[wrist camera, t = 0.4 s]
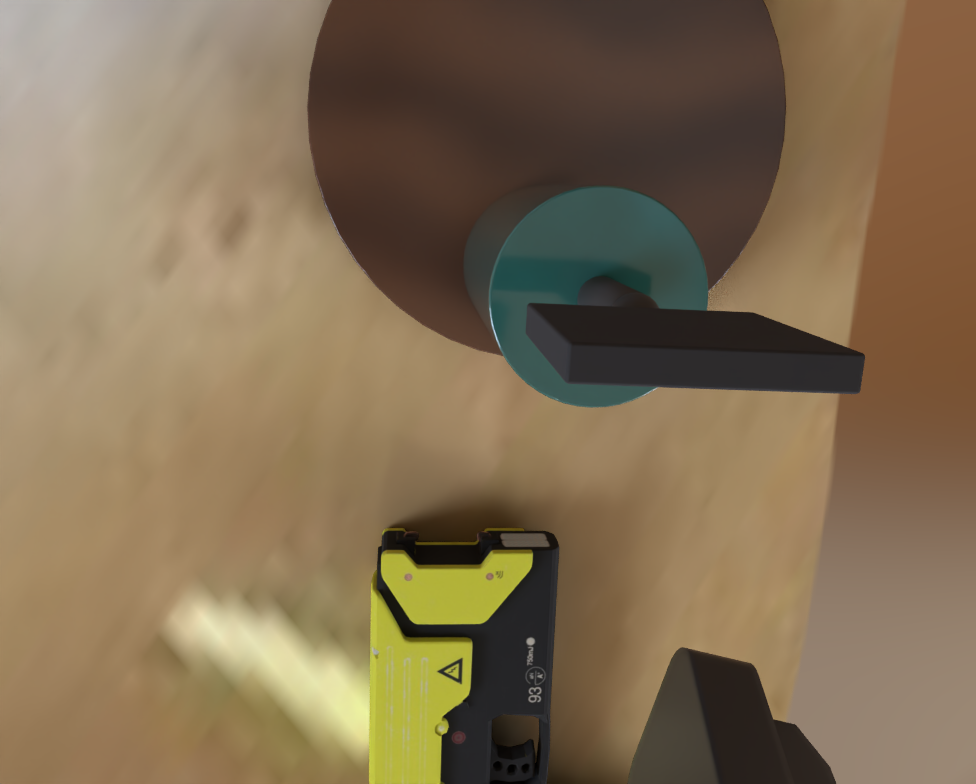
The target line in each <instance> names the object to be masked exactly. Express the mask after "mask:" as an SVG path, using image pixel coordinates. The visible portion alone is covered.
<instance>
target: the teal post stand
mask: <svg viewBox="0 0 976 784" xmlns="http://www.w3.org/2000/svg"><path fill="white" fill-rule="evenodd" d="M307 108H308V128H309V143H310V148H311V154H312V159H313V165H314V171H315V175H316V178H317V181H318V185H319V188H320V191H321V194H322V197H323V200H324V204H325V206H326V208H327V211H328V213H329V215H330V217H331V219H332V221H333V224H334V226H335V228H336V230H337V232H338V234H339V236H340V238H341V239H342V241H343V242H344V244H345V246H346V247H347V249H348V250H349V252H350V254H351V255H352V257H353V258H354V260H355V261H356V263H357V264H358V265H359V266H360V268H361V269H362V270H363V271H364V272H365V274H366V275H367V276H368V277H369V279H370V280H371V281H372V282H373V283H374V285H375V286H376V287H377V288H378V289H379V290H381V291H382V292H383V293H384V294H385V295H386V296H387V297H388V298H389V299H390V300H391V301H392V302H393V303H394V304H395V305H396V306H398V307H399V308H400V309H402V310H403V311H404V312H406V313H407V314H408V315H410V316H411V317H413V318H414V319H415V320H417V321H418V322H420V323H421V324H422V325H424V326H426V327H428V328H430V329H431V330H433V331H435V332H437V333H439V334H441V335H443V336H444V337H446V338H448V339H450V340H453V341H455V342H458V343H461V344H463V345H466V346H468V347H471V348H474V349H476V350H480V351H484V352H488V353H492V354H497V355H501V356H504V357H505V359H506V361H507V362H508V364H509V365H510V366H511V367H512V369H513V370H514V371H515V372H516V374H517V375H518V376H519V377H521V378H522V379H523V380H524V381H525V382H526V383H527V384H528V385H530V386H531V387H532V388H534V389H535V390H537V391H538V392H540V393H542V394H543V395H545V396H547V397H549V398H551V399H554V400H557V401H559V402H562V403H565V404H570V405H574V406H580V407H590V408H593V407H609V406H615V405H620V404H623V403H627V402H630V401H633V400H635V399H638V398H640V397H642V396H644V395H646V394H648V393H650V392H651V391H653V390H655V389H656V388H658V387H669V388H697V389H726V390H754V391H782V392H811V393H839V394H857V393H859V392H860V387H861V381H862V374H863V367H864V360H865V355H864V354H863V353H860V352H858V351H855V350H852V349H850V348H847V347H844V346H842V345H839V344H836V343H833V342H831V341H828V340H825V339H823V338H820V337H817V336H815V335H812V334H809V333H807V332H804V331H801V330H799V329H796V328H793V327H790V326H788V325H785V324H782V323H780V322H777V321H774V320H772V319H769V318H766V317H764V316H761V315H758V314H755V313H750V312H727V311H707V306H708V292H709V291H710V290H711V289H712V288H713V287H714V286H715V285H716V284H717V283H718V282H719V281H720V280H721V279H722V277H723V276H724V275H725V274H726V272H727V271H728V270H729V268H730V267H731V266H732V265H733V263H734V262H735V261H736V259H737V258H738V257H739V256H740V254H741V253H742V251H743V249H744V248H745V246H746V244H747V243H748V241H749V239H750V238H751V236H752V234H753V233H754V231H755V229H756V228H757V225H758V223H759V221H760V219H761V216H762V214H763V212H764V210H765V207H766V205H767V203H768V201H769V198H770V195H771V192H772V188H773V185H774V182H775V179H776V175H777V172H778V169H779V163H780V158H781V152H782V147H783V141H784V131H785V114H786V98H785V82H784V71H783V66H782V60H781V55H780V50H779V45H778V40H777V37H776V34H775V31H774V28H773V25H772V22H771V19H770V15H769V12H768V10H767V8H766V5H765V3H764V1H763V0H332V1H331V3H330V5H329V7H328V10H327V13H326V16H325V19H324V21H323V24H322V27H321V30H320V33H319V36H318V39H317V43H316V47H315V52H314V57H313V62H312V67H311V71H310V81H309V94H308V107H307Z"/></svg>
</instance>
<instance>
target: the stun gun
mask: <svg viewBox="0 0 976 784" xmlns="http://www.w3.org/2000/svg"><path fill="white" fill-rule="evenodd" d="M418 538H419V534H418V532H415V531H414V532H406V530H405V529H403V528H387V529H385V530H384V531H383V533H382V546H380V547H379V548H378V562H377V570H376V571H375V572H374V574H373V577H372V582H371V636H370V734H369V784H547V774H548V763H549V753H550V705H551V687H552V669H553V651H554V633H555V615H556V597H557V579H558V561H559V545H558V541H557V539H556V538H555V536H554V534H552V533H549V532H546V531H524V528H486V529H485V530H484V532H483V531H480V532H478V533H477V539H478V540H477V541H476V542H415V541H417V540H418ZM503 714H507V715H524V716H535V717H537V718H539V742H538V751H537V760H536V758H535V750H534V742H533V740H531V739H529V740H528V741H527V742H525V743H524V744H521V745H517V746H513V747H506V746H500V745H496V744H495V742H494V741H493V740H492V739H491V732H492V720H493V719H495V718H497V717H499V716H501V715H503ZM535 760H536V763H535Z"/></svg>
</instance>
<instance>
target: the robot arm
mask: <svg viewBox="0 0 976 784" xmlns="http://www.w3.org/2000/svg"><path fill="white" fill-rule="evenodd" d="M627 784H836V781H835V779H834V777H833V774H832V771H831V768H830V767H829V765H828V764H827V763H826V762H825V760H824V759H823V758H822V757H821V755H820V754H819V753H818V752H817V750H816V749H815V748H814V747H813V746H812V744H811V743H810V742H809V741H808V739H807V738H806V737H805V736H804V734H803V733H802V732H801V731H800V729H799V728H798V727H797V726H796V725H795V724H790V723H786V722H782V721H778V720H773V718H772V715H771V712H770V709H769V706H768V703H767V699H766V696H765V693H764V690H763V687H762V684H761V681H760V678H759V675H758V673H757V670H756V668H755V667H754V666H753V665H752V664H751V663H747V662H743V661H739V660H734V659H730V658H726V657H722V656H717V655H713V654H709V653H705V652H700V651H696V650H692V649H688V648H683V647H682V648H680V649H678V650H677V651H676V653H675V654H674V656H673V657H672V659H671V661H670V664H669V666H668V669H667V671H666V674H665V677H664V679H663V682H662V684H661V687H660V690H659V692H658V695H657V698H656V700H655V703H654V705H653V708H652V711H651V713H650V716H649V719H648V721H647V724H646V726H645V729H644V732H643V734H642V737H641V740H640V742H639V745H638V747H637V750H636V753H635V755H634V758H633V761H632V765H631V769H630V773H629V778H628V783H627Z"/></svg>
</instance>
